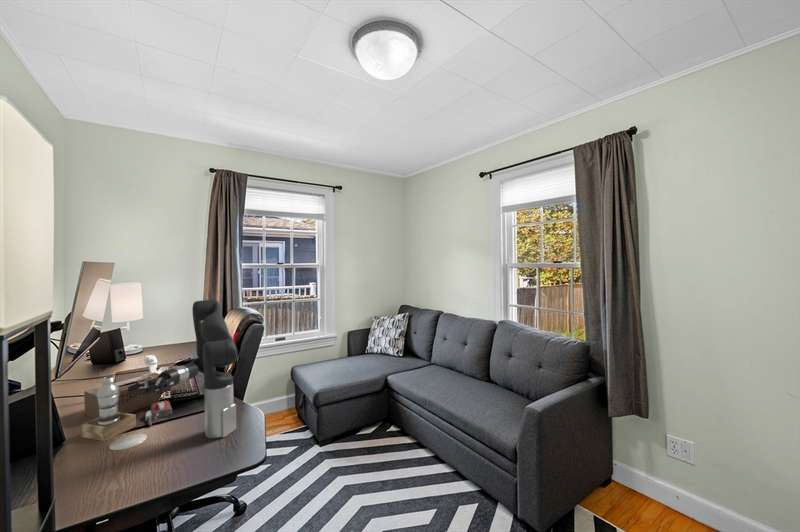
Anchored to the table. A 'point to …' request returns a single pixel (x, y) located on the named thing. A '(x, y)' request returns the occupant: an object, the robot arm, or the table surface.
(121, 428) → the oak holder
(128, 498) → the table surface
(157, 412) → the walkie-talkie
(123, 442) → the grey coaster
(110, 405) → the plastic bottle
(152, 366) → the voxel character
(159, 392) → the tissue box cover
